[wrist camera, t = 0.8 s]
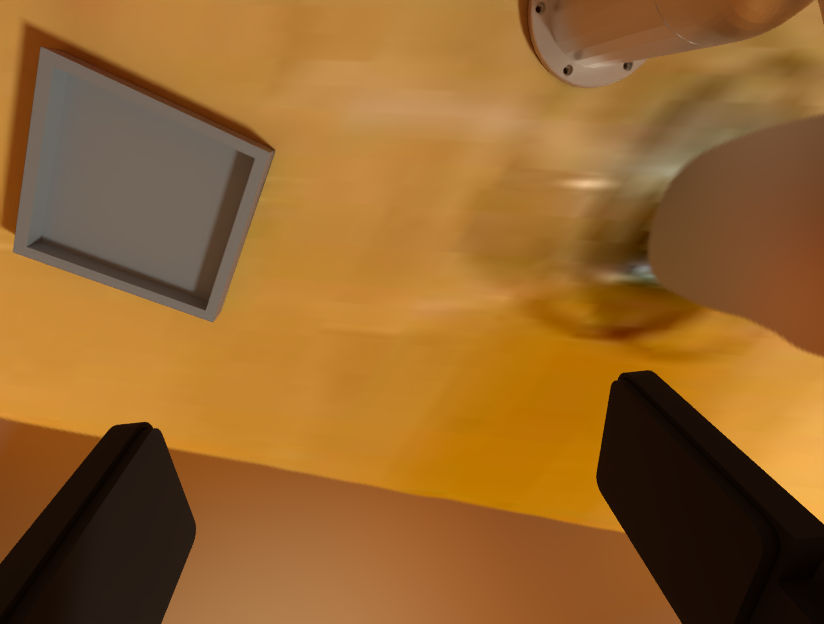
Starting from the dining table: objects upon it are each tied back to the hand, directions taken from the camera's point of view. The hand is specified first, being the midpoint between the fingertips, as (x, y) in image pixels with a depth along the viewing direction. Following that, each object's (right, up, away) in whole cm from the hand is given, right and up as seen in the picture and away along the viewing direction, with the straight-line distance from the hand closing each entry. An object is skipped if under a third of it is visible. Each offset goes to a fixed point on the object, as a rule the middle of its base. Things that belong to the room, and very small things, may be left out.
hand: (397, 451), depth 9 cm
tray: (-24, +14, +32) cm, 42 cm away
